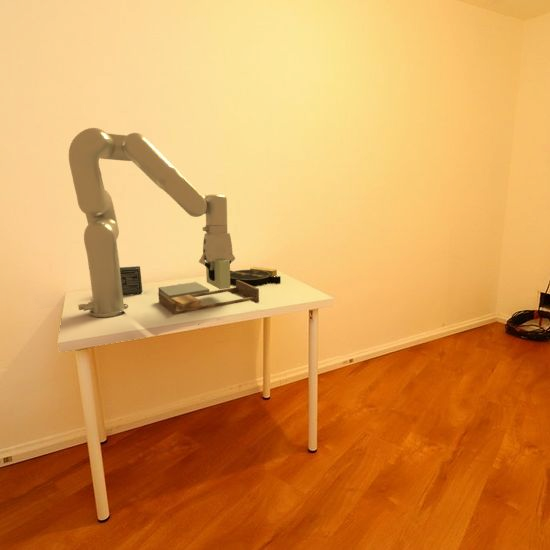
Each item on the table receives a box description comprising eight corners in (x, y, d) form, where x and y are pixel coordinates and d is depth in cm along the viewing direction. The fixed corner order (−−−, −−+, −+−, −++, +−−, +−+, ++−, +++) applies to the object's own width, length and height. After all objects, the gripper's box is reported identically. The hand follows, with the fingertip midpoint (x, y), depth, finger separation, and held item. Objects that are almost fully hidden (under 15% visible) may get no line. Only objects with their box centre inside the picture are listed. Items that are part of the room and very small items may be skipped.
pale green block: (220, 289, 136) (219, 261, 134) (206, 282, 146) (205, 256, 144) (230, 287, 138) (229, 260, 136) (216, 280, 148) (215, 255, 146)
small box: (142, 290, 161) (140, 265, 158) (141, 294, 154) (139, 268, 152) (115, 291, 158) (113, 267, 156) (113, 296, 152) (110, 270, 150)
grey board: (169, 302, 144) (169, 295, 143) (158, 293, 155) (158, 287, 154) (209, 295, 152) (209, 289, 151) (196, 287, 163) (195, 281, 163)
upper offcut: (182, 309, 131) (182, 303, 131) (171, 303, 138) (170, 298, 137) (200, 305, 135) (200, 300, 135) (188, 299, 142) (188, 294, 142)
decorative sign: (292, 270, 180) (266, 282, 159) (292, 277, 181) (267, 290, 160) (240, 265, 194) (210, 275, 172) (240, 271, 194) (210, 282, 173)
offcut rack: (174, 318, 126) (173, 303, 125) (159, 305, 140) (158, 292, 139) (258, 301, 143) (258, 288, 142) (238, 291, 157) (238, 279, 156)
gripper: (198, 232, 130) (200, 284, 134) (242, 229, 139) (242, 278, 143) (190, 229, 136) (192, 279, 140) (233, 227, 145) (233, 274, 149)
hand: (218, 278), depth 142 cm, fingers closed on pale green block, 4 cm apart
